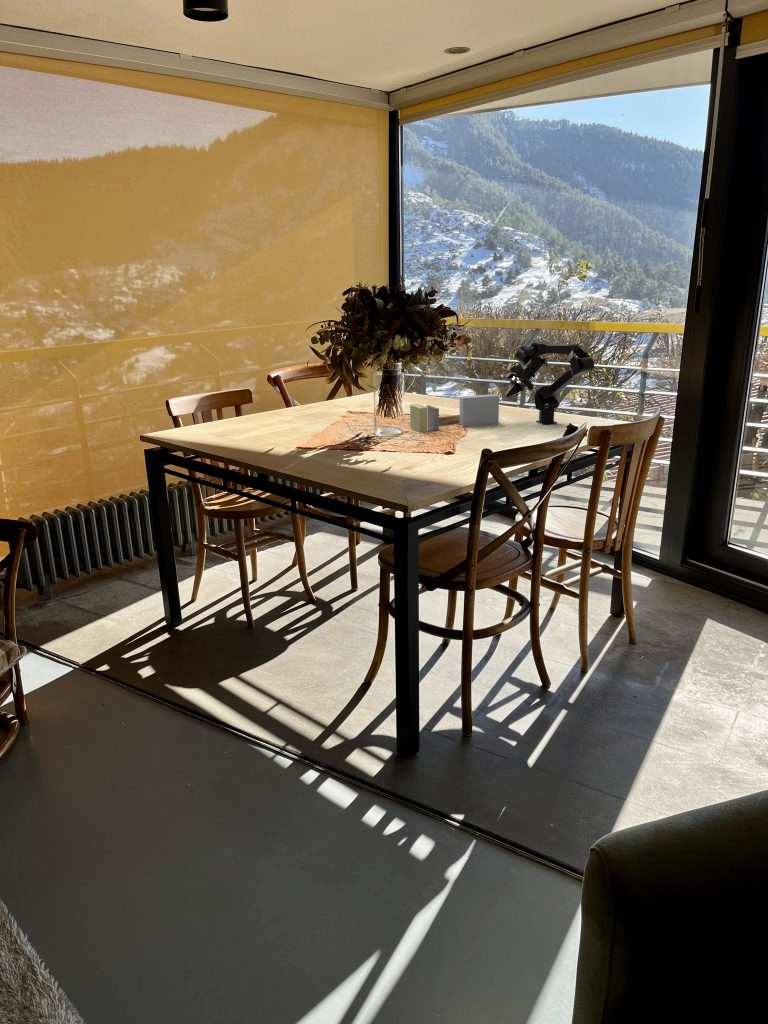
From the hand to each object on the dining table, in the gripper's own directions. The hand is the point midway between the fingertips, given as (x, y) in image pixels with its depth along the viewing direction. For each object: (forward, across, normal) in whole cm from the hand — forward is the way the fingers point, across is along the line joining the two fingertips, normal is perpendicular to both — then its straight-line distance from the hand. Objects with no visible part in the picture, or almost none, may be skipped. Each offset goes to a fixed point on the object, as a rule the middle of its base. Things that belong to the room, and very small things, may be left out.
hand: (506, 396), depth 330 cm
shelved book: (+36, +3, -20) cm, 41 cm away
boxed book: (+16, 0, -1) cm, 16 cm away
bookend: (+33, +2, -18) cm, 37 cm away
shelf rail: (+21, -7, -5) cm, 22 cm away
